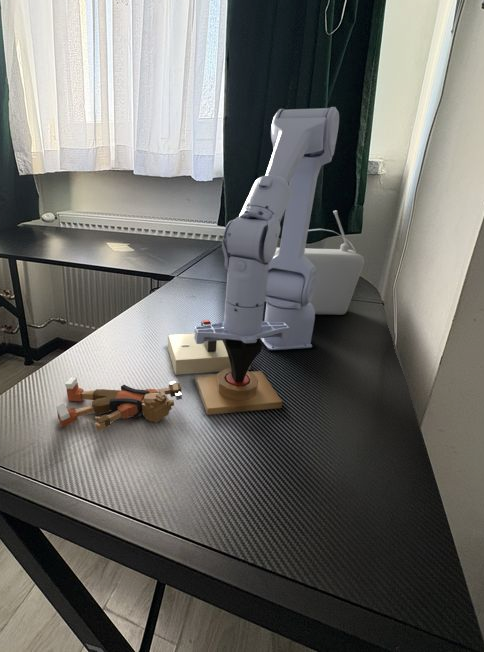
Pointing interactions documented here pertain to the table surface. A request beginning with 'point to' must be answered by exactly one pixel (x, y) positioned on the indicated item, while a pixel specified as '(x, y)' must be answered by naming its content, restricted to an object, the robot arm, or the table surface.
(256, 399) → the button block
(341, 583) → the table surface
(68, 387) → the character figurine
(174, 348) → the panel
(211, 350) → the dark grey block
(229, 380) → the button
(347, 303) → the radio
